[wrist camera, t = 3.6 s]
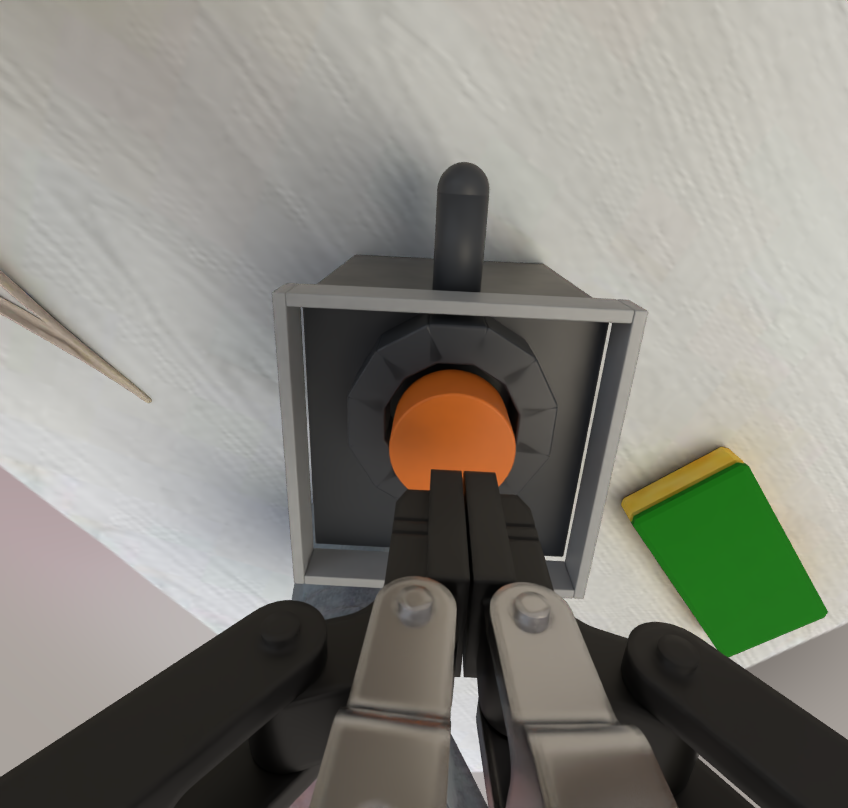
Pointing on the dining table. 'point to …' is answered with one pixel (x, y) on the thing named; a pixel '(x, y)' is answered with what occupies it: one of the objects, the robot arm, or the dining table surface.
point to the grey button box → (433, 351)
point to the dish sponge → (725, 552)
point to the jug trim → (453, 295)
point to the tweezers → (57, 333)
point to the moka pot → (343, 600)
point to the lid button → (450, 429)
